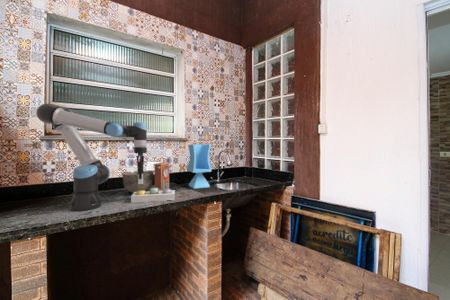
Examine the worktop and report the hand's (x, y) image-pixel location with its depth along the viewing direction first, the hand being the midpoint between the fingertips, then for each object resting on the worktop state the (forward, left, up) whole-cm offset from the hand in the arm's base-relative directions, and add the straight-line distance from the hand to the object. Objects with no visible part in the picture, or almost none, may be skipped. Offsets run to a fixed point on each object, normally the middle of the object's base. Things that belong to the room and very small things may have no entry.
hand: (140, 183), depth 143 cm
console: (+8, 0, -10) cm, 13 cm away
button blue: (+16, 0, -8) cm, 18 cm away
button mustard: (0, 0, -8) cm, 8 cm away
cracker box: (+12, +21, -11) cm, 26 cm away
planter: (+41, +35, -11) cm, 55 cm away
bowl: (-5, +23, -11) cm, 26 cm away
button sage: (+8, 0, -7) cm, 11 cm away
